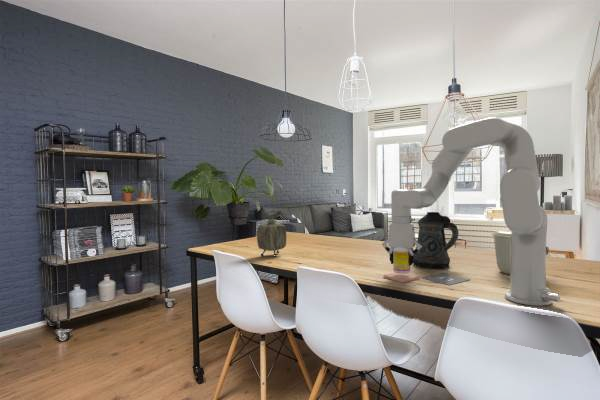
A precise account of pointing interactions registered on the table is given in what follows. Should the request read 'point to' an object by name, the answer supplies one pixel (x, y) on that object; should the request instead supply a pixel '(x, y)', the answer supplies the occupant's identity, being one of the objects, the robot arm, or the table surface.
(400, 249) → the supplement bottle
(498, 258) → the canister
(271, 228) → the tabletop clock
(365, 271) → the table surface
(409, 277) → the coaster pad
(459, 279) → the tile
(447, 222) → the beer stein
